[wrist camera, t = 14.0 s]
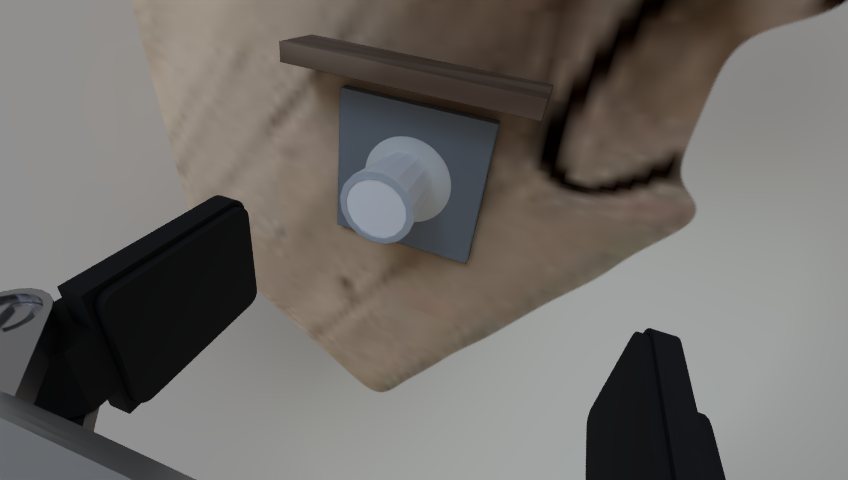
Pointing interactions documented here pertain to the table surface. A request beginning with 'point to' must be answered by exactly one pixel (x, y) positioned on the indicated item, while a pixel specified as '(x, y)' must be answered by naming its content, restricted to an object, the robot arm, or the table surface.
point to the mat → (437, 147)
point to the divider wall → (419, 75)
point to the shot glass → (386, 197)
